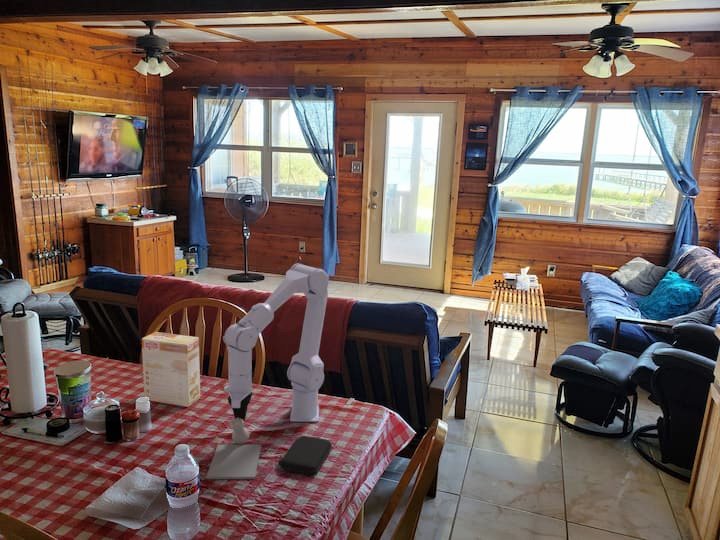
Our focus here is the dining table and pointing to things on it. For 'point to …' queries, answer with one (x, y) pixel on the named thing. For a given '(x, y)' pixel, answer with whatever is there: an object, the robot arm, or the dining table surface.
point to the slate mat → (234, 462)
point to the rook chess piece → (239, 431)
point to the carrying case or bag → (305, 456)
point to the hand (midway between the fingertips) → (240, 421)
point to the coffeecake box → (171, 368)
